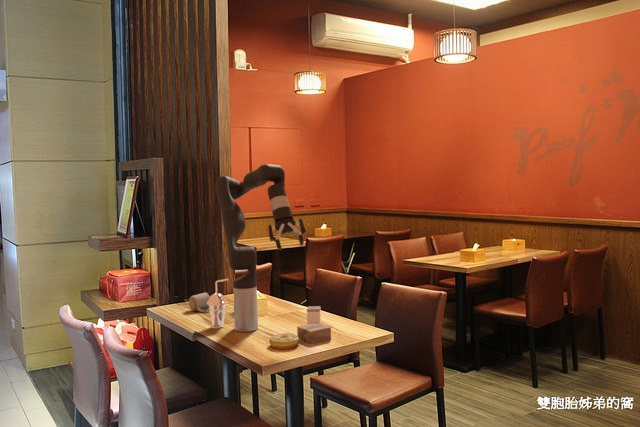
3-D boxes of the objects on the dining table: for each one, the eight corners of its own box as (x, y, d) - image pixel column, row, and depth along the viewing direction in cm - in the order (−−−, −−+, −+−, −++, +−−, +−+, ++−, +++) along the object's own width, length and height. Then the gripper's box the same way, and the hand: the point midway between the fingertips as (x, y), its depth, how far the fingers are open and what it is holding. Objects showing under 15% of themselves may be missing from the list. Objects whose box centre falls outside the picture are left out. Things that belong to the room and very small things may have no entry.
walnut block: (297, 338, 216) (297, 326, 216) (317, 334, 221) (316, 322, 221) (311, 343, 209) (310, 331, 208) (331, 339, 214) (330, 327, 214)
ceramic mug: (188, 310, 268) (187, 293, 267) (203, 307, 273) (203, 291, 273) (198, 314, 260) (198, 297, 259) (214, 311, 265) (214, 294, 265)
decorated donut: (303, 343, 211) (303, 332, 211) (291, 351, 201) (291, 340, 201) (277, 340, 215) (277, 330, 214) (264, 348, 205) (264, 338, 205)
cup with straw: (217, 323, 242) (215, 276, 241) (233, 325, 237) (232, 277, 236) (203, 328, 235) (201, 279, 234) (220, 330, 230) (218, 281, 229)
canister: (308, 328, 230) (308, 306, 229) (321, 328, 230) (320, 306, 229) (307, 332, 225) (306, 309, 224) (320, 332, 225) (319, 309, 224)
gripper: (297, 210, 235) (307, 246, 229) (263, 216, 231) (272, 254, 226) (299, 202, 228) (309, 240, 222) (264, 209, 224) (274, 247, 219)
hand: (291, 247), depth 224 cm, fingers open, 8 cm apart
